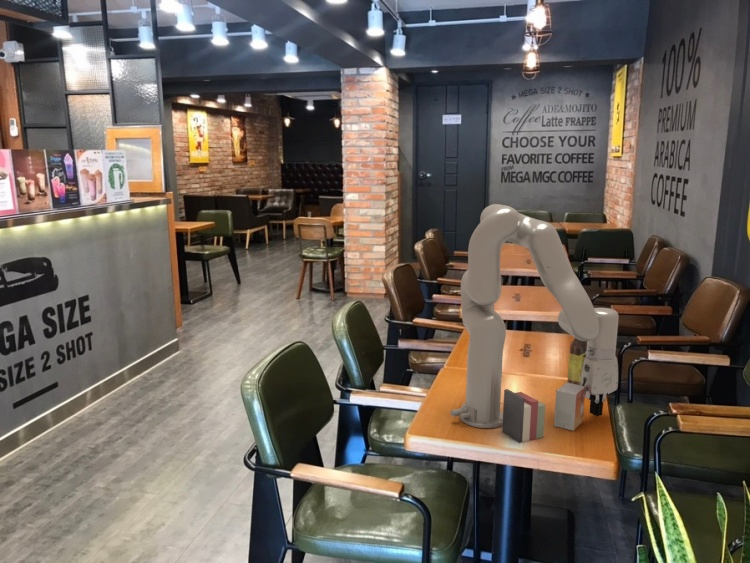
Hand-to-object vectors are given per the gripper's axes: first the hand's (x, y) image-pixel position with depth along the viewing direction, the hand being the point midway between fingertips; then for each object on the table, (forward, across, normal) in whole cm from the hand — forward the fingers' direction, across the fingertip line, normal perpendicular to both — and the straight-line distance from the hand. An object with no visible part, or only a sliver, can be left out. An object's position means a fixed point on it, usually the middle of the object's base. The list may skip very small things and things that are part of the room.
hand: (595, 414), depth 165 cm
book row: (+1, -26, 0) cm, 26 cm away
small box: (+1, -10, 0) cm, 10 cm away
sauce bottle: (+1, +15, +22) cm, 27 cm away
